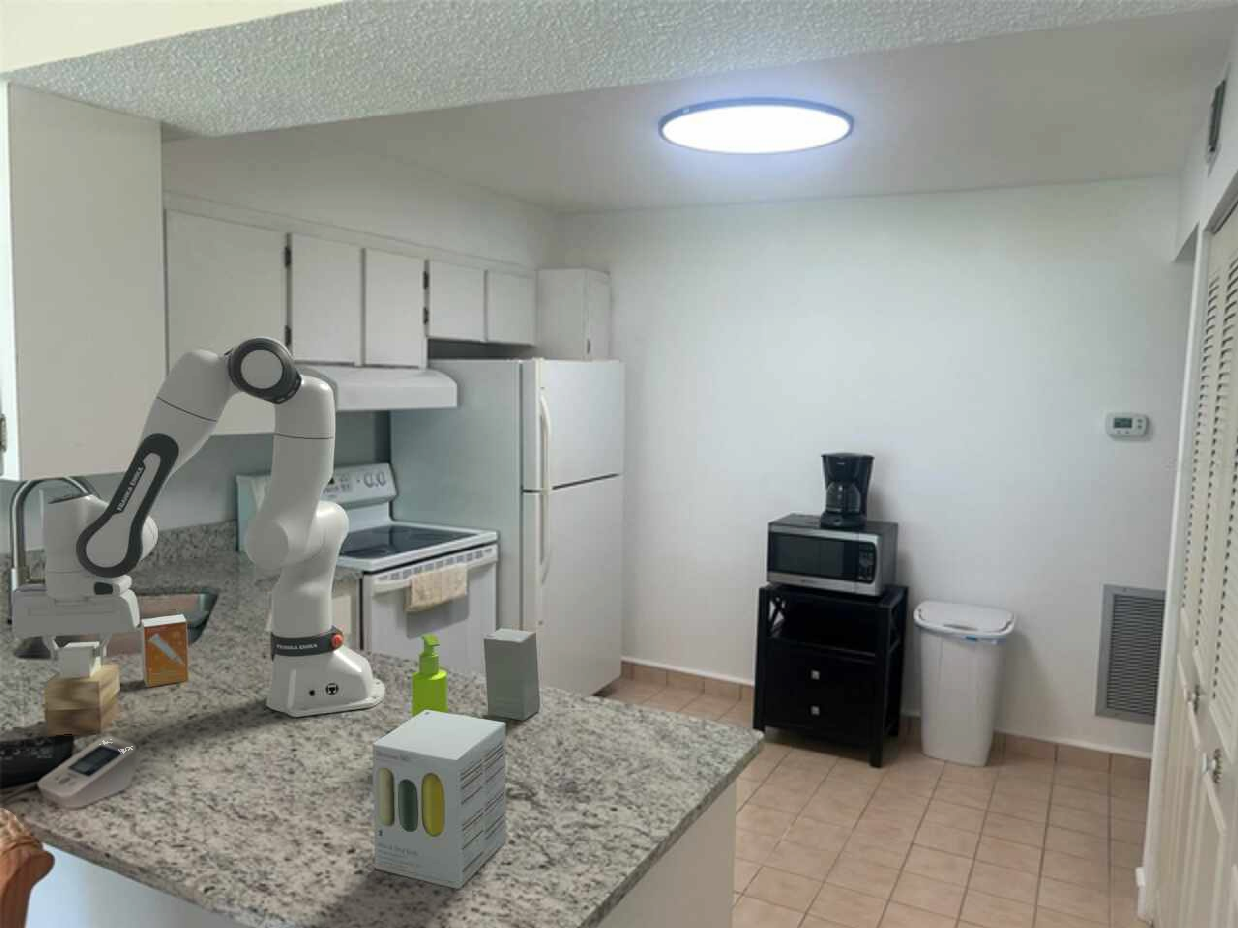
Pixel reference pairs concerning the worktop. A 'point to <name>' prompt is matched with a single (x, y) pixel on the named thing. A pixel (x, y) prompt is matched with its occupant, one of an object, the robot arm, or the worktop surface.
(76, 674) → the cube
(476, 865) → the supplement box
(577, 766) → the worktop surface
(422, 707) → the soap dispenser
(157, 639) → the small box
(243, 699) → the worktop surface
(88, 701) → the tower top
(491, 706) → the skincare box
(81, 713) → the block
